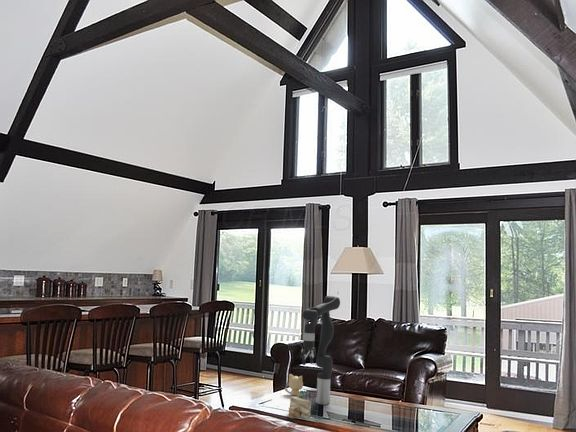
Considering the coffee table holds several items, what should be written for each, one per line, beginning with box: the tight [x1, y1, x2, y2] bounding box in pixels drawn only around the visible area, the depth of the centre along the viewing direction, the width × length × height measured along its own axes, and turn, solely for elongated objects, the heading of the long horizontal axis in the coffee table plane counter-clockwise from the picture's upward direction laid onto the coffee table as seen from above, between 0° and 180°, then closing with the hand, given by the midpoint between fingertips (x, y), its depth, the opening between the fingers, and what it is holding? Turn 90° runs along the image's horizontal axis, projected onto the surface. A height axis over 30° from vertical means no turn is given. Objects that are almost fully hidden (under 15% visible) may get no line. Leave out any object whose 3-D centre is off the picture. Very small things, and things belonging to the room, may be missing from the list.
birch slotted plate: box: [289, 396, 312, 419], centre depth 329 cm, size 4×14×10 cm, turn 51°
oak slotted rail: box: [287, 406, 302, 419], centre depth 329 cm, size 18×4×6 cm, turn 141°
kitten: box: [284, 373, 306, 398], centre depth 383 cm, size 15×10×15 cm
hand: (307, 364), depth 344 cm, fingers open, 8 cm apart
